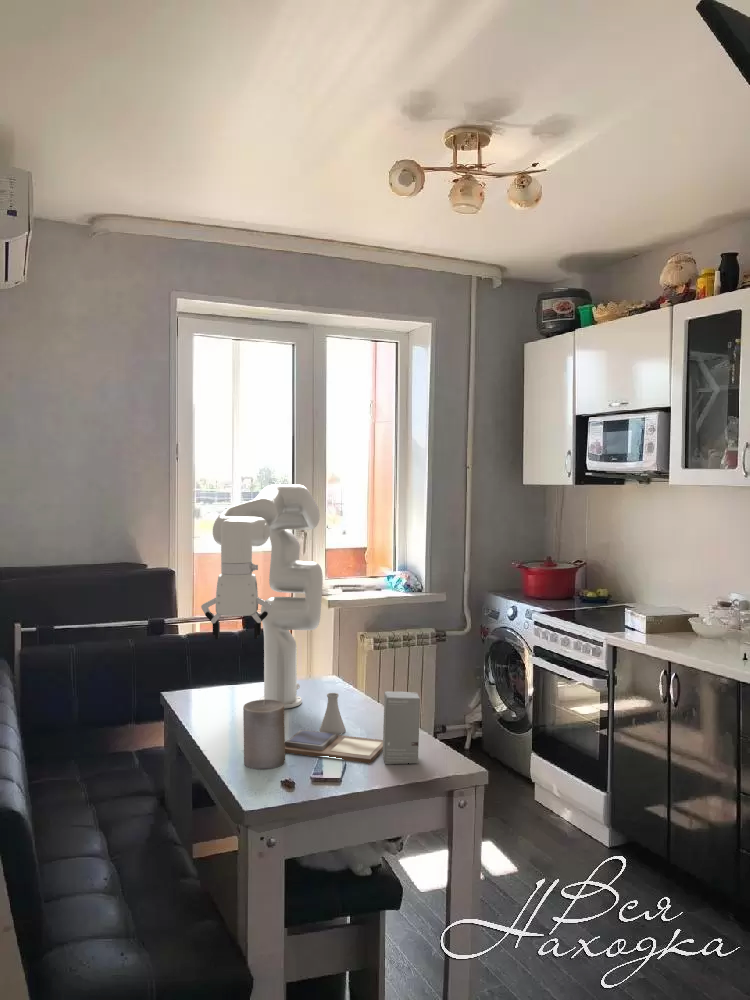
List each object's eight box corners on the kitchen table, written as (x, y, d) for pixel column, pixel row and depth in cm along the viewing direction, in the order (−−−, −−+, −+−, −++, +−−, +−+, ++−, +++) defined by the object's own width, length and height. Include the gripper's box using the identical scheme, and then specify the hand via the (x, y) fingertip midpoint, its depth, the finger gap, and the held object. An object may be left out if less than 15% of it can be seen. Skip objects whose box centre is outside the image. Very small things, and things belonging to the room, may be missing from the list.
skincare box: (384, 765, 190) (384, 698, 190) (382, 754, 198) (382, 690, 197) (420, 764, 191) (420, 697, 190) (416, 753, 198) (417, 689, 198)
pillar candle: (265, 752, 199) (264, 691, 198) (293, 761, 193) (292, 698, 192) (235, 763, 191) (234, 700, 191) (263, 773, 185) (262, 708, 185)
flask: (342, 736, 211) (342, 698, 210) (315, 735, 212) (315, 697, 212) (349, 728, 218) (349, 691, 217) (323, 726, 219) (323, 689, 219)
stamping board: (300, 734, 212) (300, 726, 212) (388, 744, 205) (388, 736, 205) (277, 751, 199) (277, 743, 199) (370, 763, 191) (370, 754, 191)
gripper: (273, 567, 204) (273, 634, 205) (203, 567, 204) (204, 635, 204) (270, 571, 197) (270, 641, 198) (198, 571, 196) (199, 641, 197)
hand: (236, 638), depth 201 cm, fingers open, 9 cm apart
